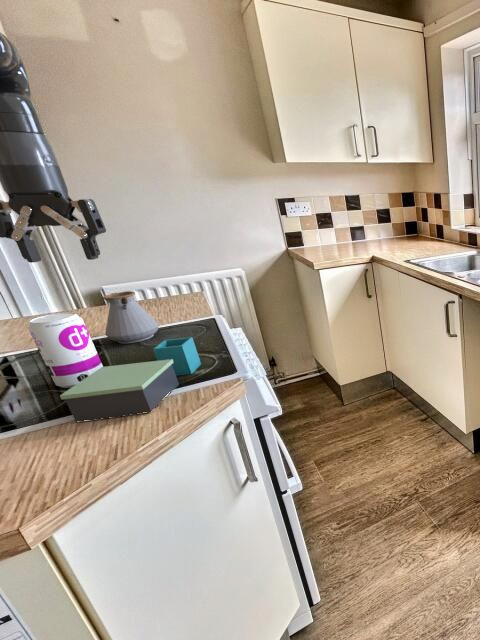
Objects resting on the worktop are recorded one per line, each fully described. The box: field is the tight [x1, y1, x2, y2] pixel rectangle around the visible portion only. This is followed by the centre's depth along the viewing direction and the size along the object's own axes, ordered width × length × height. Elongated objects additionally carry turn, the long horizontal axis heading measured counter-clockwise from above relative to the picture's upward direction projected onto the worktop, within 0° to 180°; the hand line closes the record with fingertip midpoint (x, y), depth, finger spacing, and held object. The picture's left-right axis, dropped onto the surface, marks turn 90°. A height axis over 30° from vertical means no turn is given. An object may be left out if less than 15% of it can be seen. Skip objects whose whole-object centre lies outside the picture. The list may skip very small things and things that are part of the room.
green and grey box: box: [59, 359, 180, 423], centre depth 84 cm, size 13×13×6 cm
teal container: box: [152, 336, 202, 377], centre depth 97 cm, size 6×6×7 cm
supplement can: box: [28, 311, 104, 389], centre depth 92 cm, size 8×8×15 cm
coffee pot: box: [101, 291, 160, 345], centre depth 113 cm, size 21×12×15 cm, turn 46°
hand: (64, 260), depth 76 cm, fingers open, 8 cm apart
